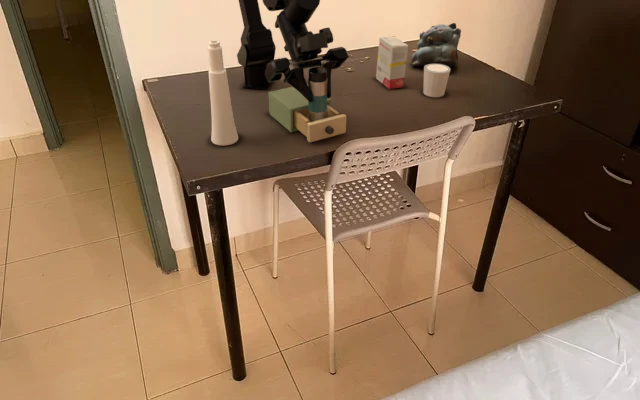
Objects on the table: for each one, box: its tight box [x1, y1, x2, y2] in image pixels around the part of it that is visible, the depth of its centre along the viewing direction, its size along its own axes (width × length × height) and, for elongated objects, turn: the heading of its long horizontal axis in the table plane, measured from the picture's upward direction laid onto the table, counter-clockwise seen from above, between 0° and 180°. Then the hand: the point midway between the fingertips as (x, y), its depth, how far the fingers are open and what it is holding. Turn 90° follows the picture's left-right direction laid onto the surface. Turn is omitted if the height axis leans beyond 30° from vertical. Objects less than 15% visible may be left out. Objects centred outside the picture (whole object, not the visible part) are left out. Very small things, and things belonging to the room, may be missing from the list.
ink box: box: [375, 36, 409, 90], centre depth 138 cm, size 9×5×12 cm, turn 19°
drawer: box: [293, 105, 347, 143], centre depth 115 cm, size 12×10×4 cm
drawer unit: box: [268, 83, 332, 133], centre depth 121 cm, size 11×11×6 cm
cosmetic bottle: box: [207, 39, 239, 147], centre depth 107 cm, size 6×6×22 cm
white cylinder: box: [422, 64, 451, 98], centre depth 134 cm, size 7×7×7 cm
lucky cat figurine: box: [410, 22, 462, 68], centre depth 150 cm, size 15×12×14 cm
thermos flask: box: [307, 66, 327, 121], centre depth 112 cm, size 4×4×11 cm
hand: (320, 99), depth 111 cm, fingers closed on thermos flask, 4 cm apart
